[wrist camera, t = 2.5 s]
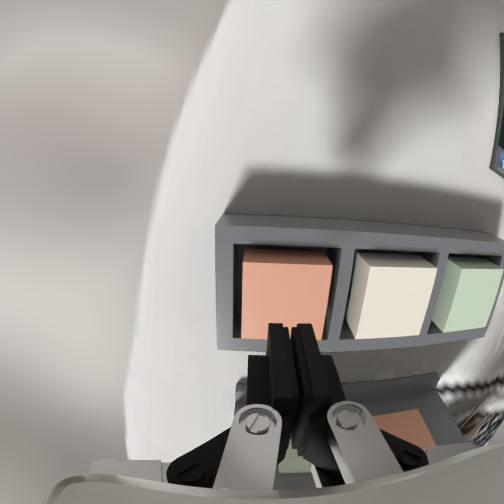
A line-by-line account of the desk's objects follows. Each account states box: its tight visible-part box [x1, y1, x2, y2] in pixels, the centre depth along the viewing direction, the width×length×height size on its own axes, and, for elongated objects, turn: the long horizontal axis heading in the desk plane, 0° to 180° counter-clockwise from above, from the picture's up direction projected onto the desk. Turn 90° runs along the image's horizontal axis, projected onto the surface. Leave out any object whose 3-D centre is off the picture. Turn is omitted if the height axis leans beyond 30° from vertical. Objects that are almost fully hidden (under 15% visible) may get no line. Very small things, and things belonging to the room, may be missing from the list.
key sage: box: [432, 257, 504, 333], centre depth 17 cm, size 5×5×2 cm
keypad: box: [215, 214, 504, 491], centre depth 17 cm, size 22×19×10 cm
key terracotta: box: [241, 248, 333, 340], centre depth 17 cm, size 5×5×2 cm
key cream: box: [346, 253, 437, 339], centre depth 17 cm, size 5×5×2 cm
